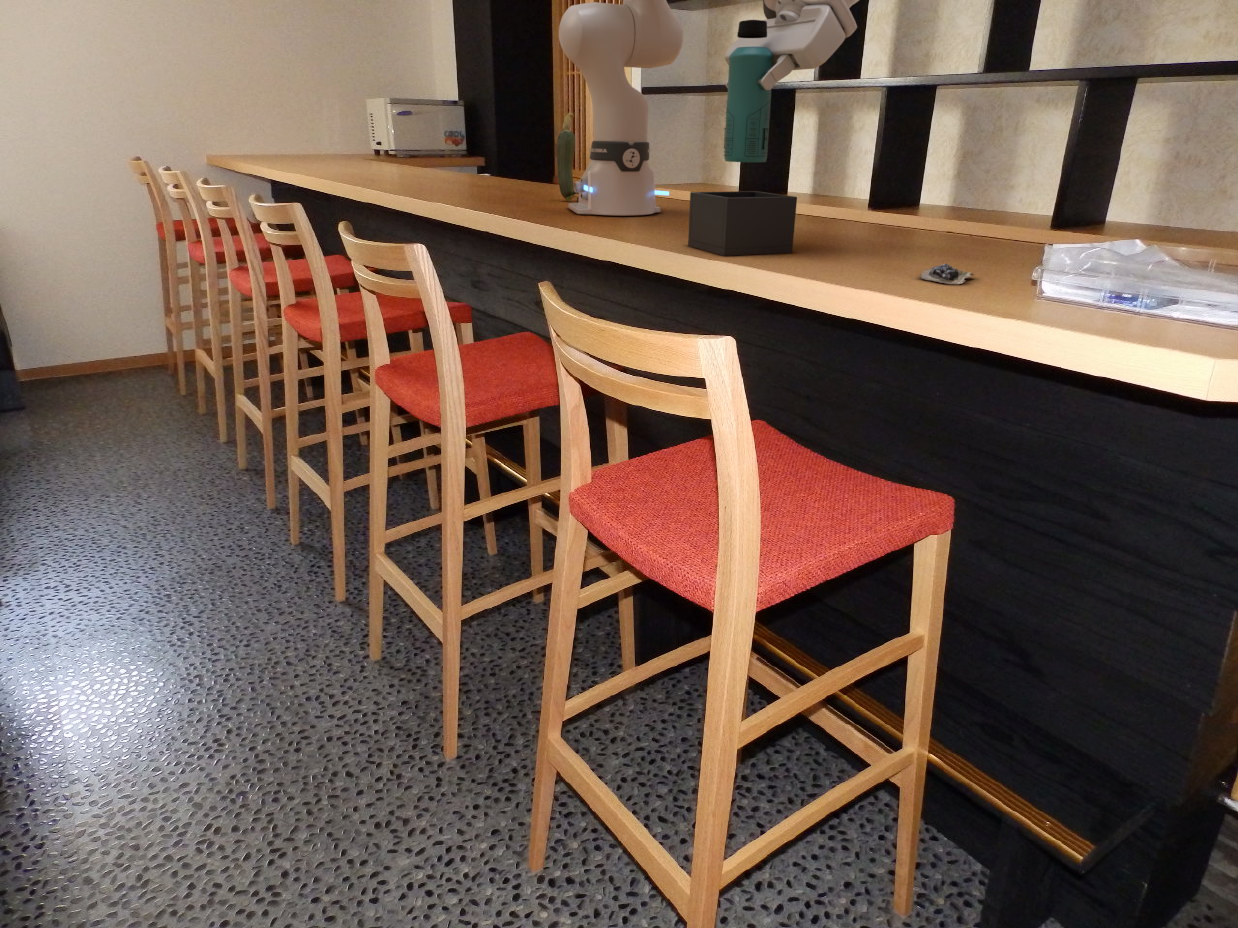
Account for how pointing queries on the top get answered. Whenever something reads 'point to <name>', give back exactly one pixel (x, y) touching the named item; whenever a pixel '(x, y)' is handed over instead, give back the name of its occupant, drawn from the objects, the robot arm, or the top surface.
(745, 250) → the box
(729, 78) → the beverage bottle
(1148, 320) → the top surface
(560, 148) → the vegetable
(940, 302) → the top surface
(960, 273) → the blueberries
